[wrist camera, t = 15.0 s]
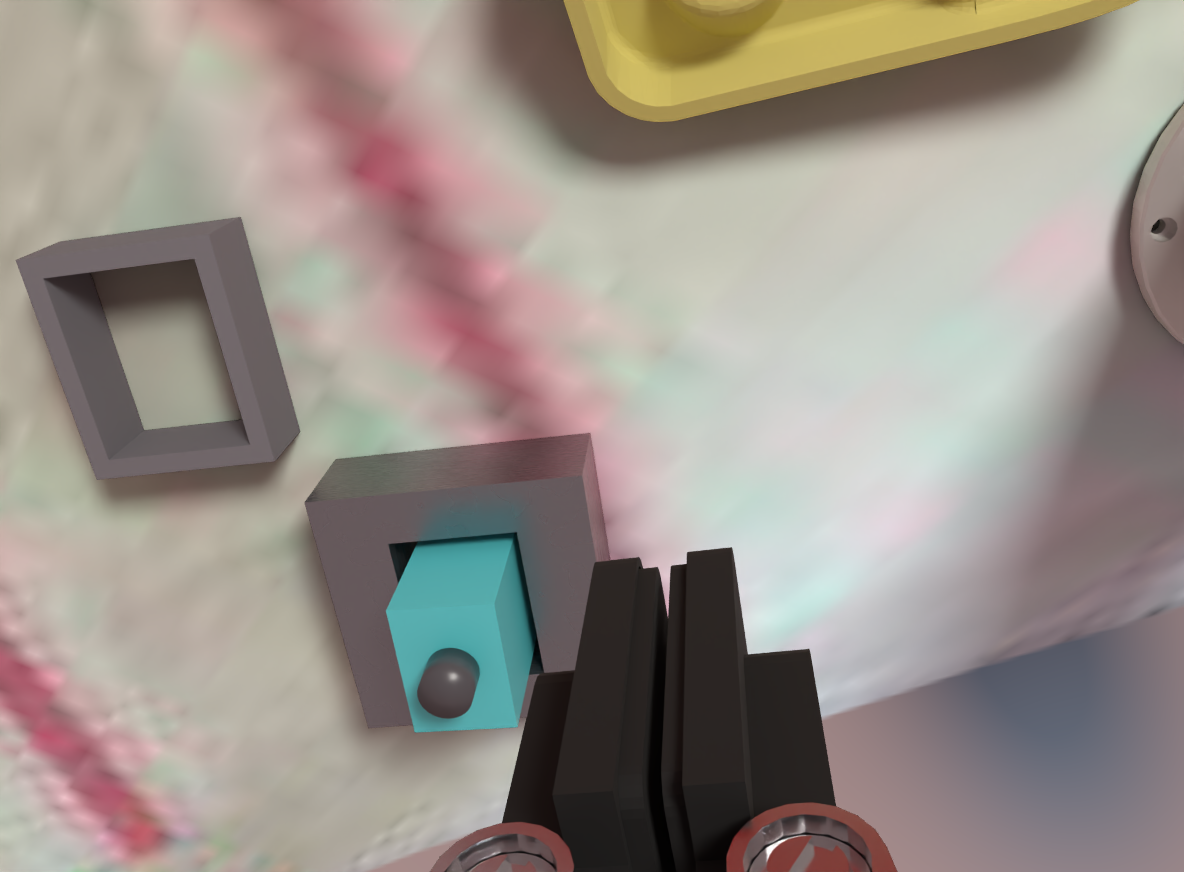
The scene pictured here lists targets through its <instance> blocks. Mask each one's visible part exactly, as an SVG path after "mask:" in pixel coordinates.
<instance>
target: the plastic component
mask: <svg viewBox="0 0 1184 872" xmlns="http://www.w3.org/2000/svg"><path fill="white" fill-rule="evenodd" d="M563 1H564V4H565V7H566V10H567V13H568V16H569V19H570V22H571V25H572V28H573V31H574V34H575V37H576V41H577V44H578V47H579V50H580V53H581V56H582V59H583V62H584V65H585V68H586V71H587V74H588V77H589V79H590V81H591V83H592V84H593V86H594V88H595V89H596V91H597V93H598V94H599V95H600V96H601V97H602V98H603V99H604V100H605V101H606V102H607V103H608V104H609V105H610V106H612V107H614V108H615V109H617V110H619V111H620V112H622V113H624V114H625V115H628V116H631V117H634V118H637V119H640V120H645V121H652V122H668V121H677V120H681V119H685V118H689V117H694V116H698V115H702V114H706V113H710V112H715V111H719V110H723V109H727V108H732V107H736V106H740V105H744V104H748V103H753V102H757V101H761V100H765V99H769V98H774V97H778V96H782V95H786V94H790V93H795V92H799V91H803V90H807V89H811V88H816V87H820V86H824V85H828V84H832V83H837V82H841V81H845V80H849V79H853V78H858V77H862V76H866V75H870V74H875V73H879V72H883V71H887V70H891V69H896V68H900V67H904V66H908V65H912V64H917V63H921V62H925V61H929V60H933V59H938V58H942V57H946V56H950V55H954V54H959V53H963V52H967V51H971V50H975V49H980V48H984V47H988V46H992V45H996V44H1001V43H1005V42H1009V41H1012V40H1016V39H1020V38H1024V37H1028V36H1032V35H1036V34H1039V33H1043V32H1047V31H1051V30H1055V29H1059V28H1062V27H1066V26H1069V25H1072V24H1075V23H1079V22H1082V21H1085V20H1089V19H1092V18H1095V17H1098V16H1100V15H1103V14H1106V13H1109V12H1111V11H1114V10H1117V9H1120V8H1122V7H1125V6H1128V5H1130V4H1132V3H1134V2H1136V1H1139V0H563Z"/></svg>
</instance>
